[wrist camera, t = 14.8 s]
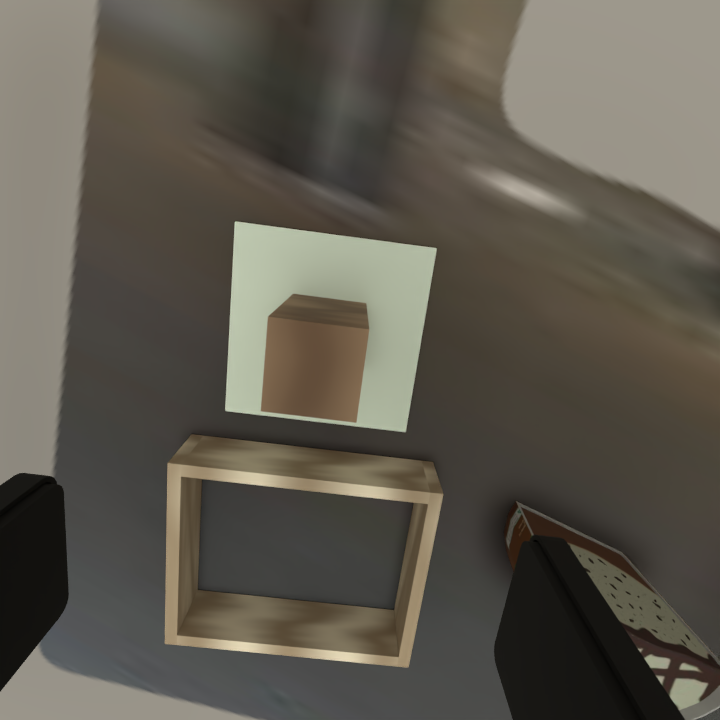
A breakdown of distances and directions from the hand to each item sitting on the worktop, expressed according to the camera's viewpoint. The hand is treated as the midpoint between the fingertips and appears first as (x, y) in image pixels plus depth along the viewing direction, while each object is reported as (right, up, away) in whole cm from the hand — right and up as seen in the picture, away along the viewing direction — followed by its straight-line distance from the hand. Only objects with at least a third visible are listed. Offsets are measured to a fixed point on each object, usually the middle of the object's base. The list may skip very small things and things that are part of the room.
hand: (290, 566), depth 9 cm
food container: (+15, -10, +24) cm, 31 cm away
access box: (-3, -8, +23) cm, 25 cm away
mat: (-1, +6, +19) cm, 20 cm away
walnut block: (-1, +6, +19) cm, 20 cm away
